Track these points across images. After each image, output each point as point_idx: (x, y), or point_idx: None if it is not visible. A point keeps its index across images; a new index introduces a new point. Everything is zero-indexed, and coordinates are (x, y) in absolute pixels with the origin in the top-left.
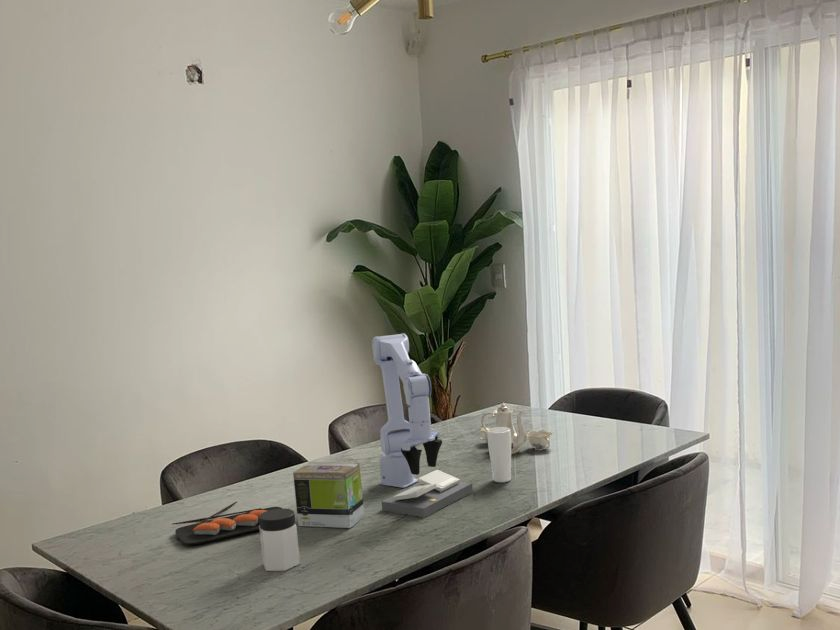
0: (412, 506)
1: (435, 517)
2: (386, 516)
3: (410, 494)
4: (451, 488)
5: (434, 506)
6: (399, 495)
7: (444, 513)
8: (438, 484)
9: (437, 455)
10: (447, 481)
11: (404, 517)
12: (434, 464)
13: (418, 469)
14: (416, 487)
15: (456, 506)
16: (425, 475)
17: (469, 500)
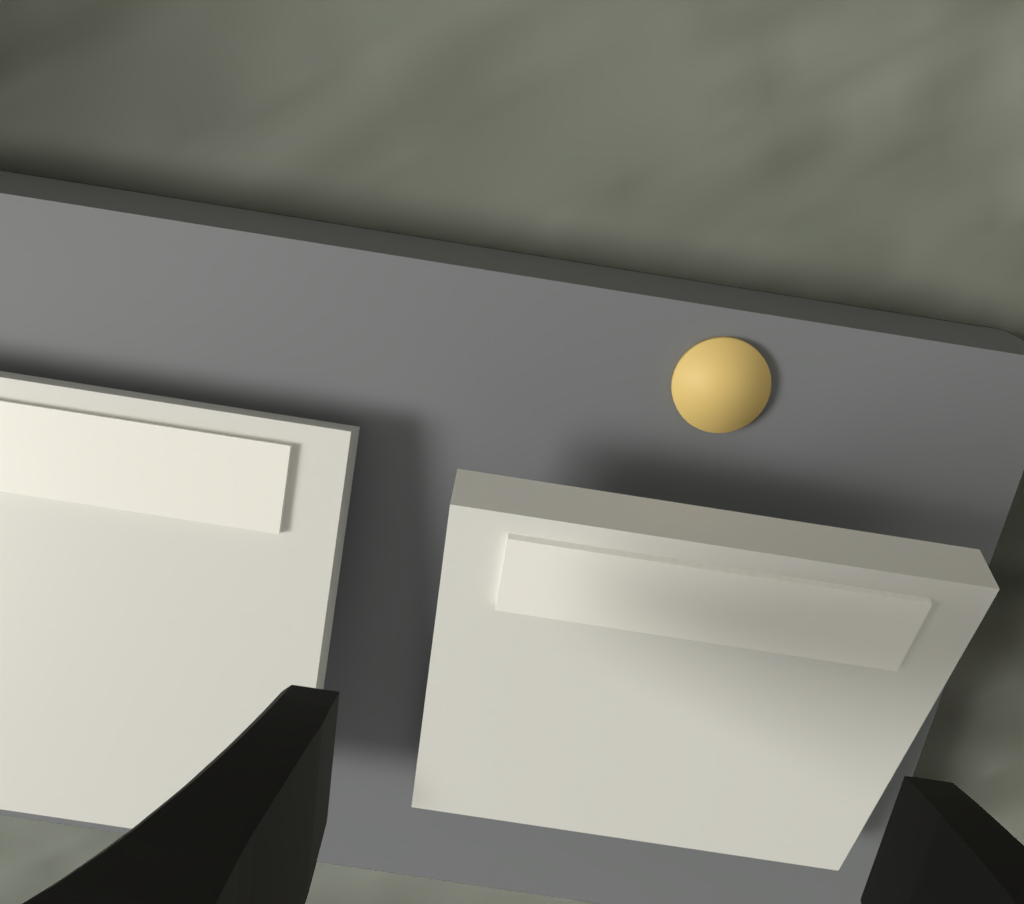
0: (994, 540)
1: (961, 196)
2: (999, 748)
3: (953, 668)
4: (140, 362)
5: (795, 308)
6: (844, 815)
7: (791, 147)
8: (274, 524)
9: (158, 814)
10: (75, 465)
11: (1008, 560)
12: (329, 719)
13: (1011, 845)
14: (480, 754)
15: (490, 110)
16: (129, 815)
17: (206, 37)
